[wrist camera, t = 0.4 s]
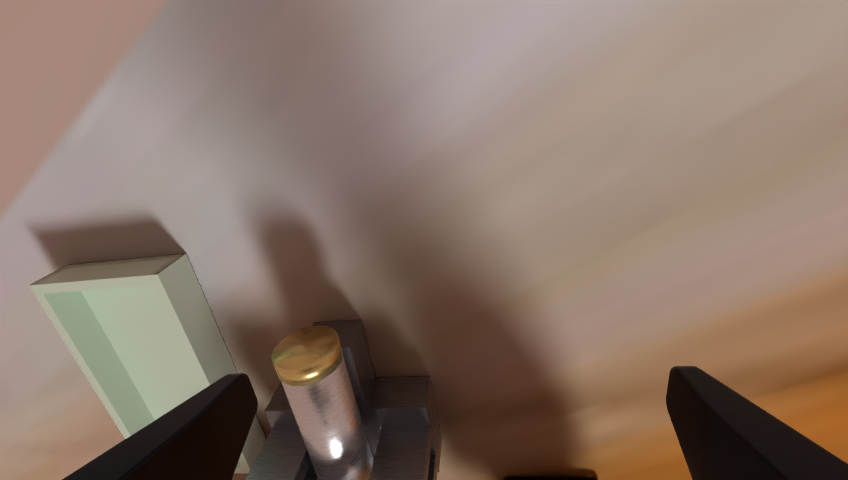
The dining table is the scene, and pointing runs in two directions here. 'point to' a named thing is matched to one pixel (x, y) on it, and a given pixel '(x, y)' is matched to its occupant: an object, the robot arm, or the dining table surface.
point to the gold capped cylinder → (324, 403)
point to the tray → (141, 337)
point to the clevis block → (381, 416)
